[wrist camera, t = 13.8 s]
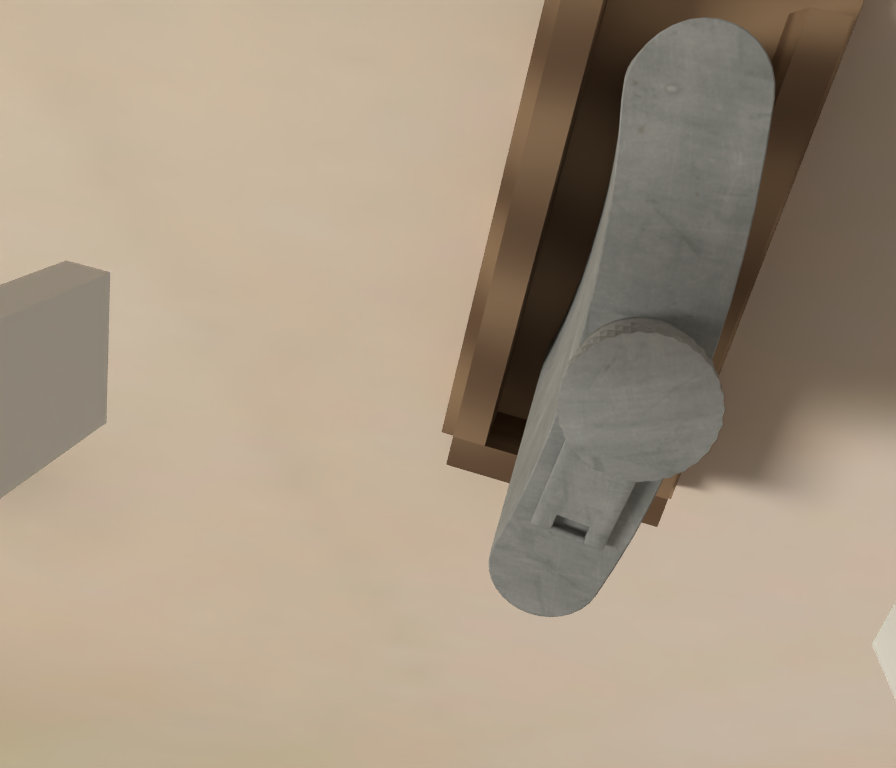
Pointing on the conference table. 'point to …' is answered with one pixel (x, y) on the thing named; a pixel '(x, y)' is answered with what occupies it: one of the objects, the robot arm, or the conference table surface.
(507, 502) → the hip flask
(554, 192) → the u rest
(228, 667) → the conference table surface
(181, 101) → the conference table surface
